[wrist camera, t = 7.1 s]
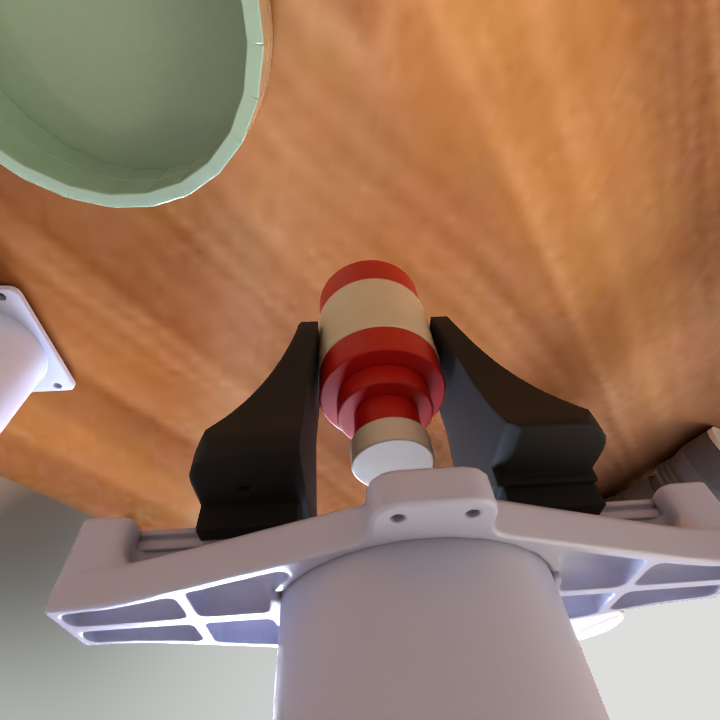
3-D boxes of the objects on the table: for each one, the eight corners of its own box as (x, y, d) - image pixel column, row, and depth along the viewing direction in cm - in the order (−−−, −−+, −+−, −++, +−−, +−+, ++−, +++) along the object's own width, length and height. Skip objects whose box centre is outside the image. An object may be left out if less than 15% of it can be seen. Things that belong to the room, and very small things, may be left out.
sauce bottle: (321, 344, 19) (321, 511, 13) (315, 260, 16) (310, 418, 10) (413, 341, 19) (457, 502, 13) (422, 256, 17) (482, 410, 10)
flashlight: (602, 517, 47) (629, 566, 43) (568, 507, 45) (592, 558, 41) (735, 436, 38) (784, 488, 34) (700, 420, 37) (747, 473, 32)
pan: (26, 180, 21) (-25, 211, 18) (-196, -271, 12) (-364, -359, 9) (288, 175, 21) (282, 204, 18) (244, -256, 13) (219, -334, 10)
